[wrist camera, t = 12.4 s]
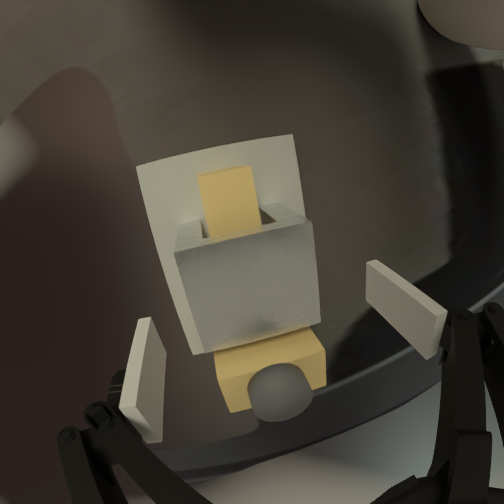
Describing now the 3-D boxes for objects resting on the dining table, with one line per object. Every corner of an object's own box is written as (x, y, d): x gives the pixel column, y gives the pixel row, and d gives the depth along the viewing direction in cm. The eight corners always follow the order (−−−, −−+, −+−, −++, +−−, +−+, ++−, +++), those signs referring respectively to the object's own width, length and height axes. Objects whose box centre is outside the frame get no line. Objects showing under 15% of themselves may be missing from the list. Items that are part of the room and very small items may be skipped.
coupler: (173, 179, 23) (155, 199, 12) (264, 160, 24) (322, 164, 13) (218, 343, 29) (234, 433, 18) (290, 324, 30) (335, 403, 19)
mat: (136, 166, 23) (135, 166, 22) (291, 134, 24) (292, 134, 24) (193, 353, 30) (193, 355, 29) (315, 321, 31) (316, 322, 31)
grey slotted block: (179, 223, 25) (173, 252, 17) (277, 202, 26) (311, 221, 18) (200, 302, 28) (205, 353, 20) (289, 280, 29) (320, 322, 21)
